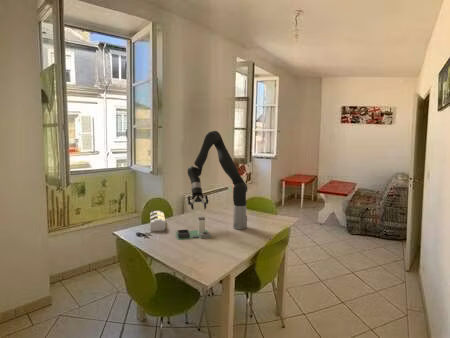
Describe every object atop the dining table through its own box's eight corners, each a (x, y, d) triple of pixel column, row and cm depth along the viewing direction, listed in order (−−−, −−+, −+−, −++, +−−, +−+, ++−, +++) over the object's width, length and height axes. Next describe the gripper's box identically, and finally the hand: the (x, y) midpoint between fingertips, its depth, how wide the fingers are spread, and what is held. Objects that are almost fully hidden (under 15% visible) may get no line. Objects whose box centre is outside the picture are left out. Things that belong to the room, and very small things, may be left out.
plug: (203, 232, 215) (204, 217, 213) (204, 234, 211) (205, 218, 210) (198, 232, 214) (198, 217, 212) (199, 234, 210) (199, 219, 209)
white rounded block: (150, 220, 244) (149, 204, 242) (163, 220, 246) (163, 203, 244) (150, 231, 220) (150, 213, 218) (165, 230, 222) (165, 212, 220)
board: (206, 231, 221) (206, 225, 220) (211, 239, 205) (211, 233, 205) (175, 233, 215) (175, 227, 215) (177, 242, 200) (177, 235, 199)
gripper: (187, 187, 226) (189, 206, 216) (207, 186, 229) (209, 205, 220) (186, 192, 232) (188, 212, 222) (205, 192, 235) (208, 211, 226)
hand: (199, 208), depth 221 cm, fingers open, 8 cm apart
